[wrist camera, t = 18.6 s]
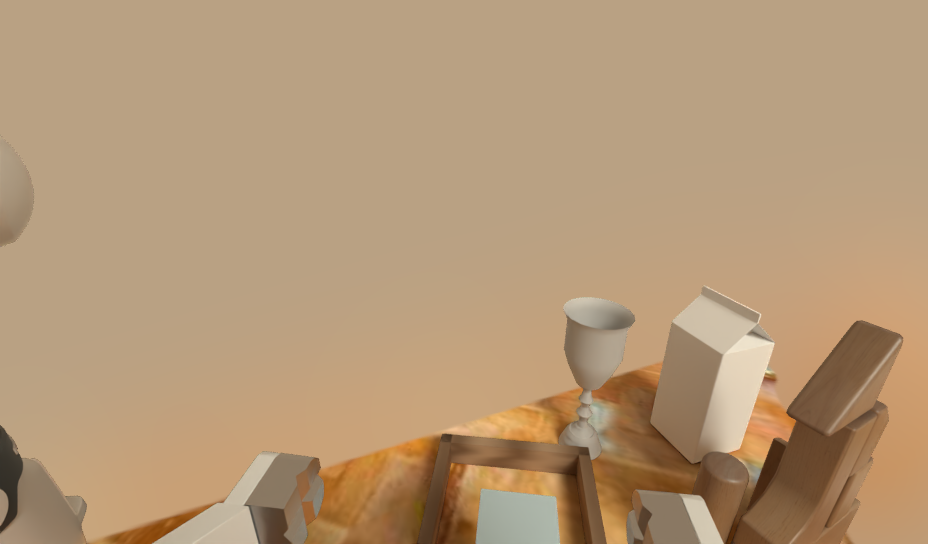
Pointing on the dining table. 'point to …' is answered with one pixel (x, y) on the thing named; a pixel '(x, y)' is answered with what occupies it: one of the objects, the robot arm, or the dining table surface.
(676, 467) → the dining table surface
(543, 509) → the block
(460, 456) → the wooden rectangular frame
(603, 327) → the chalice
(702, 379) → the milk carton
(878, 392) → the wooden toy
